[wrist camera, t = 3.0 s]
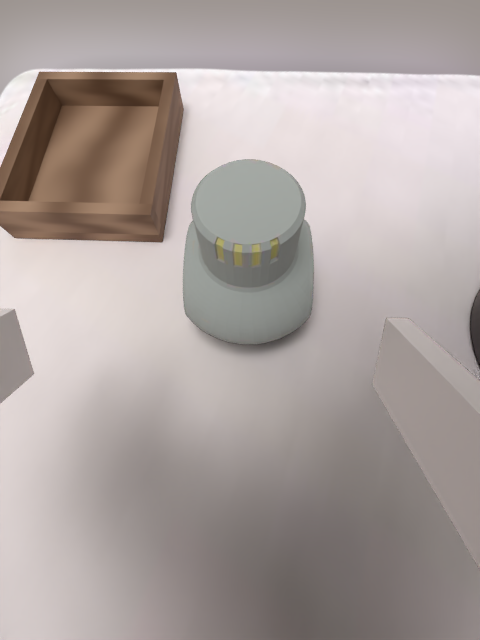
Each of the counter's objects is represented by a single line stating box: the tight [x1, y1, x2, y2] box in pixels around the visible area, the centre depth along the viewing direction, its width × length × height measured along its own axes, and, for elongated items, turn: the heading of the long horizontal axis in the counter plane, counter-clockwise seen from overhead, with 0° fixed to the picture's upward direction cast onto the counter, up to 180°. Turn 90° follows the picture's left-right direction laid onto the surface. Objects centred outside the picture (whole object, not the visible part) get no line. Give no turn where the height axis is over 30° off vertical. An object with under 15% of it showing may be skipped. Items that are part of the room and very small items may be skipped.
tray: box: [0, 72, 184, 242], centre depth 28 cm, size 13×16×4 cm
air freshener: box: [183, 159, 314, 344], centre depth 20 cm, size 11×8×10 cm
